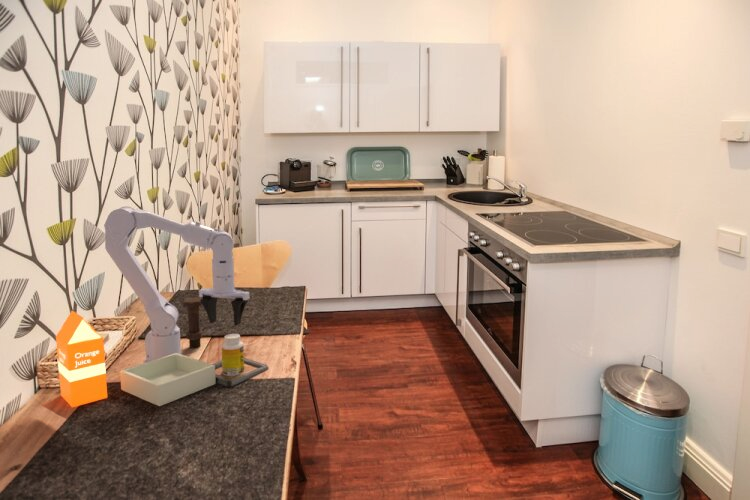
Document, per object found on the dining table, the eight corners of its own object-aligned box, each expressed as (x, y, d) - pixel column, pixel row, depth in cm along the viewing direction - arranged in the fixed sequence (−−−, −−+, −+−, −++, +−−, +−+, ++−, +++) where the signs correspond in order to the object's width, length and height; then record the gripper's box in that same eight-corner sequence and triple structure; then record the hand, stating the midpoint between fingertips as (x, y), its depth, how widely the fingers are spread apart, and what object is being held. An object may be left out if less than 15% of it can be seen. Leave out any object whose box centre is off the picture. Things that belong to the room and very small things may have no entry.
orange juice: (95, 386, 131) (89, 307, 128) (108, 397, 124) (102, 314, 121) (60, 395, 125) (52, 313, 122) (71, 407, 119) (63, 321, 116)
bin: (121, 389, 129) (119, 370, 128) (177, 370, 141) (176, 352, 141) (159, 406, 120) (158, 386, 119) (215, 383, 133) (214, 365, 132)
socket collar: (195, 375, 138) (195, 370, 138) (236, 360, 149) (236, 355, 148) (230, 387, 130) (230, 382, 130) (270, 371, 141) (270, 365, 141)
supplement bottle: (244, 376, 137) (242, 338, 136) (221, 378, 136) (220, 339, 135) (244, 368, 143) (243, 332, 141) (223, 370, 142) (221, 333, 140)
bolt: (202, 352, 155) (199, 302, 153) (184, 352, 155) (181, 302, 152) (205, 345, 161) (203, 297, 159) (188, 346, 160) (186, 297, 158)
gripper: (191, 276, 144) (193, 325, 146) (240, 279, 141) (241, 329, 143) (206, 271, 151) (208, 318, 153) (252, 274, 147) (253, 322, 150)
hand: (225, 323), depth 148 cm, fingers open, 7 cm apart
